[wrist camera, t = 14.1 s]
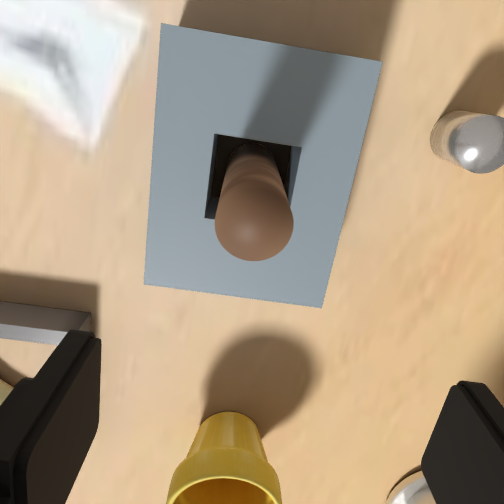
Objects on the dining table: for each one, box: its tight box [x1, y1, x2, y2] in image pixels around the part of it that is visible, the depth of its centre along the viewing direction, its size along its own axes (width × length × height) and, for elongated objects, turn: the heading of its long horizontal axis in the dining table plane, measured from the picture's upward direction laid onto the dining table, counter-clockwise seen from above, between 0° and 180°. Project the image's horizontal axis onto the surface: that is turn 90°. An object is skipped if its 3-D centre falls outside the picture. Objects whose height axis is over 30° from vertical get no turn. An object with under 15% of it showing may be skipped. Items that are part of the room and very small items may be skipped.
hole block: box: [144, 23, 383, 308], centre depth 33 cm, size 14×18×6 cm
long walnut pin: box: [215, 143, 294, 261], centre depth 28 cm, size 4×4×15 cm
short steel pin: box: [430, 110, 504, 174], centre depth 32 cm, size 4×4×5 cm
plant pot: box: [166, 412, 282, 504], centre depth 42 cm, size 10×10×10 cm
